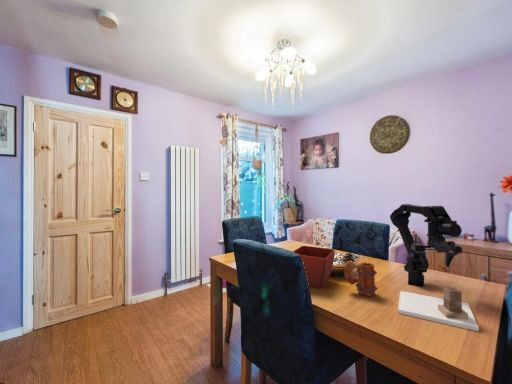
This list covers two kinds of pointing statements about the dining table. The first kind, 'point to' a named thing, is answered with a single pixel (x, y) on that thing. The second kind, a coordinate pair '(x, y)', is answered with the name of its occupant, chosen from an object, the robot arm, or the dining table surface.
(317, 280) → the plant pot
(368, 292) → the mug
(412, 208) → the robot arm
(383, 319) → the dining table surface
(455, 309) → the brown pedestal block
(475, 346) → the dining table surface
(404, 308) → the board
